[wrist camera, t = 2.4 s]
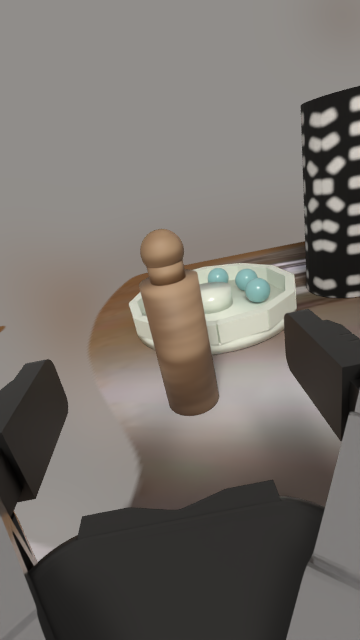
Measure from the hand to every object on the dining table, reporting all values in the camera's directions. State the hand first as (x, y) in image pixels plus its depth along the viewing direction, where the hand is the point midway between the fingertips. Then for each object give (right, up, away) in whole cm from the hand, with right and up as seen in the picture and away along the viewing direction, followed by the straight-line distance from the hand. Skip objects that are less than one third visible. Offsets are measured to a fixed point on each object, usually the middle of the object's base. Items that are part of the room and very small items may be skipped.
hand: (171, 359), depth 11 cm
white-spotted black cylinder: (+20, +5, +29) cm, 36 cm away
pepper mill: (+1, -5, +15) cm, 16 cm away
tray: (+4, +2, +29) cm, 29 cm away
